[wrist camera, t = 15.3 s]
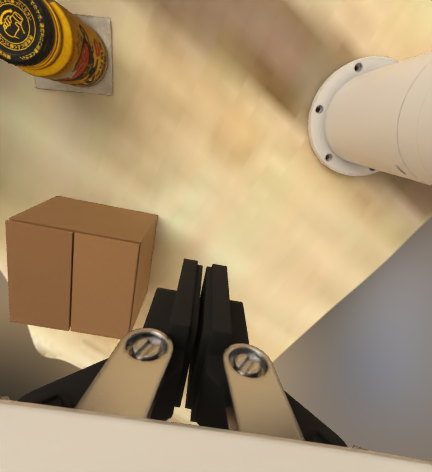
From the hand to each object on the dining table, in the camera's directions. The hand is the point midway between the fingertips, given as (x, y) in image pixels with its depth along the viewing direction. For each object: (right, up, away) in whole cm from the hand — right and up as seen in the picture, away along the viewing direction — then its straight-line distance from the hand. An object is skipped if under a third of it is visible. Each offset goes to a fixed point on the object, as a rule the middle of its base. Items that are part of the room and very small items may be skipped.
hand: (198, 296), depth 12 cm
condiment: (-15, +22, +21) cm, 34 cm away
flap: (-11, -3, +20) cm, 23 cm away
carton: (-14, +1, +29) cm, 32 cm away
